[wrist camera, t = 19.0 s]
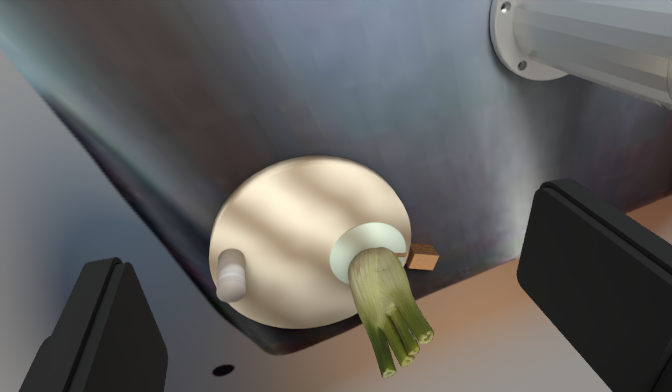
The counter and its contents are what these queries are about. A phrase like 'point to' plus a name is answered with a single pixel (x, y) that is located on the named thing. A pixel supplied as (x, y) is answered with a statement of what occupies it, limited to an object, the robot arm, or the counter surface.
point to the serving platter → (302, 239)
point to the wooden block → (421, 256)
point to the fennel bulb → (387, 307)
